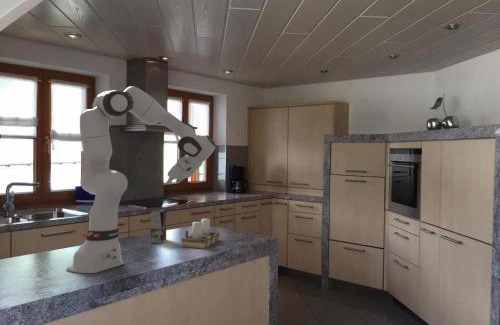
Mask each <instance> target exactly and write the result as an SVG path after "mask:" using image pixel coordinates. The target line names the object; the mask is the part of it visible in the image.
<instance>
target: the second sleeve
mask: <svg viewBox="0 0 500 325" xmlns="http://www.w3.org/2000/svg"><path fill="white" fill-rule="evenodd" d="M200 222H202V235H210V232H211V219H210V218H202V219H200Z"/></svg>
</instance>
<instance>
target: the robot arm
mask: <svg viewBox="0 0 500 325" xmlns="http://www.w3.org/2000/svg"><path fill="white" fill-rule="evenodd" d="M128 112H129V113H131V114H132V115H133V116H134V117H136V118H137V119H138V120H140V122H142V123H144V124H146V125H148V126H153V125H157V124H158V123H160V124H162V126H164V127H166V128H167V129H169V130H170V131H171V132H172V133H173V134H174V137H175V140H176V144H177V148H178V150H179V151H180V152H181V153H183V154H185V155H184V156H182V157H180V158H178V159H176V163H175V164H173V166H171V168H170V169H169V171H168V172H167V173H166V174H167V176H168V179H167V180H166V184H167V185H171V184H172V183H173V181H174V180H175V183H177V184H179V183H181V182H182V181H184V180H185V179H188V178H189V179H190V178H191V177H192V176H193V175H194V174H195V172H197V170H198V169H199V168H200V167H201V166H202V164H203V163H204V162H205V161H206V160H208V159H209V157H210V156H211V155H212V154H213V152H215V149H216V144H215V142H214V140H213V138H212V137H211V136H209V135H208V134H206V135H199V134H196V132H197V131H196V128H195V127H194V126H193V125H192V124H190V123H187V122H185V121H181V120H180V119H178V118H177V117H176V116H175V115H173V114H172V113H170V112H169V111H168V110H166V109H165V108H164V107H163V106H162V105H161V104H160V103H159V102H158V101H157V100H156V99H155V98H153V97H152V96H151V95H150V94H148V93H147V92H145V91H143V89H140V88H139V87H137V86H128V87H127V88H126V89H124V91H123V90H118V89H113V90H105V91H103V92H99V93H98V94H96V95H95V96H94V98H93V100H92V102H91V105H90V108H88V109H85V110H84V111H82V112H81V114H80V116H79V132H80V134H79V135H80V141H81V146H82V151H83V173H82V175H81V177H80V186H81V188H82V189H83V190H84V191H85V192H87V193H88V194H90V195H94V196H95V197H94V201H93V204H92V207H90V208H89V211H88V212H89V213H88V215H89V218H88V223H89V226H88V229H87V232H84V231H82V233H81V237H82V238H85V241H84V242H83V243H82V245H81V246H80V247H79V248H78V249H77V250H76V252H74V255H73V260H72V262H73V263H72V264H71V265H69V266H67V267H66V271H68V272H70V273H77V274H96V273H100V272H103V271H105V270H106V271H107V270H109V269H112V268H116V267H119V266H122V265H124V261H123V260H122V251H121V250H122V249H121V244H120V242H119V238H118V237H119V233H120V232H119V227H118V220H119V219H118V215H119V214H118V213H119V212H118V211H119V205H120V202H121V198H122V196H123V195H124V193H125V192H126V190H127V189H128V183H129V182H128V179H127V176H126V175H125V174H123V173H122V172H121V171H118V170H114V169H110V160H111V157H112V155H113V146H112V141H111V136H110V131H109V123H110V120H111V118H112V119H114V118H118V117H119V118H120V117H122V116H123V115H126V114H127V113H128Z"/></svg>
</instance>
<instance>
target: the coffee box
mask: <svg viewBox="0 0 500 325" xmlns="http://www.w3.org/2000/svg"><path fill="white" fill-rule="evenodd" d="M166 240H167V209H154V210H152V211H150V243H151V244H163V243H164V242H165V241H166Z"/></svg>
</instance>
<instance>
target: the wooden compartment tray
mask: <svg viewBox="0 0 500 325" xmlns="http://www.w3.org/2000/svg"><path fill="white" fill-rule="evenodd" d="M220 234H221V233H220V232H215V231H214V232H213V231H210V235H202V240H200V239H192V233H191V234H189V231H188V230H186V231H185V237H182V238H181V248H182V247H183V248H192V249H193V248H194V249H202V250H203V249H205V248H208V247H210V246H211V245H213V244H215V243H217V242H219V241H220Z"/></svg>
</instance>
